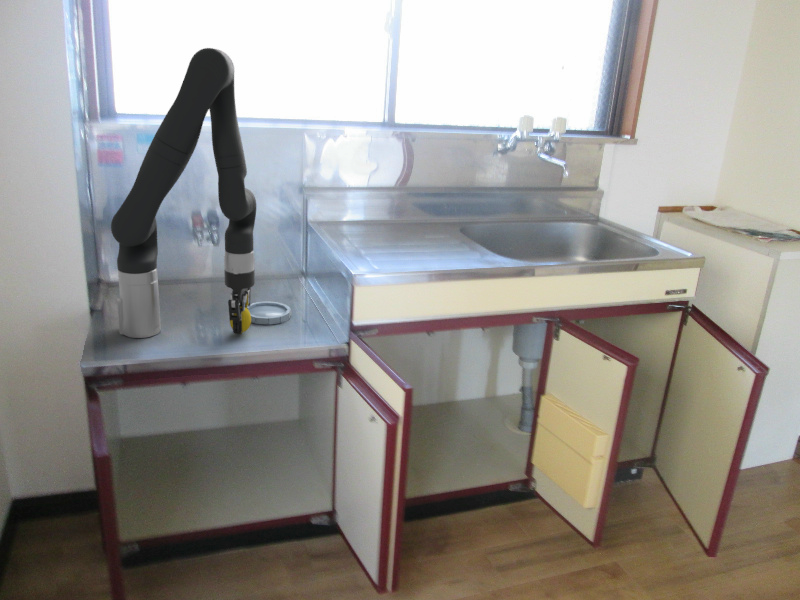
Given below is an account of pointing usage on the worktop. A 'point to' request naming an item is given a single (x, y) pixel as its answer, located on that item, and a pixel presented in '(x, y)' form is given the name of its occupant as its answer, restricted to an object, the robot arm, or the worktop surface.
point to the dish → (269, 312)
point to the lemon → (244, 320)
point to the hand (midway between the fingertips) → (240, 328)
